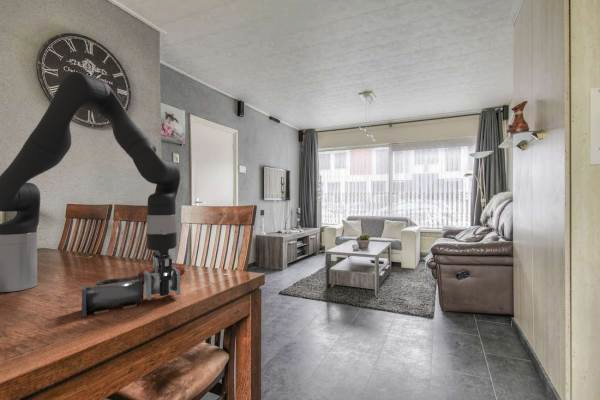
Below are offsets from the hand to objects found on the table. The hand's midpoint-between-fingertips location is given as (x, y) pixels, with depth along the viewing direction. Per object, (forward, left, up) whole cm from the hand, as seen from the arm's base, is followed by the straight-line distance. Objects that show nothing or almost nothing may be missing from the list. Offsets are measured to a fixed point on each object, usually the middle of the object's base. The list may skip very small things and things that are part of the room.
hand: (161, 292), depth 81 cm
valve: (-1, +25, -2) cm, 25 cm away
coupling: (0, 0, -1) cm, 1 cm away
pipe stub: (-11, 0, -2) cm, 11 cm away
